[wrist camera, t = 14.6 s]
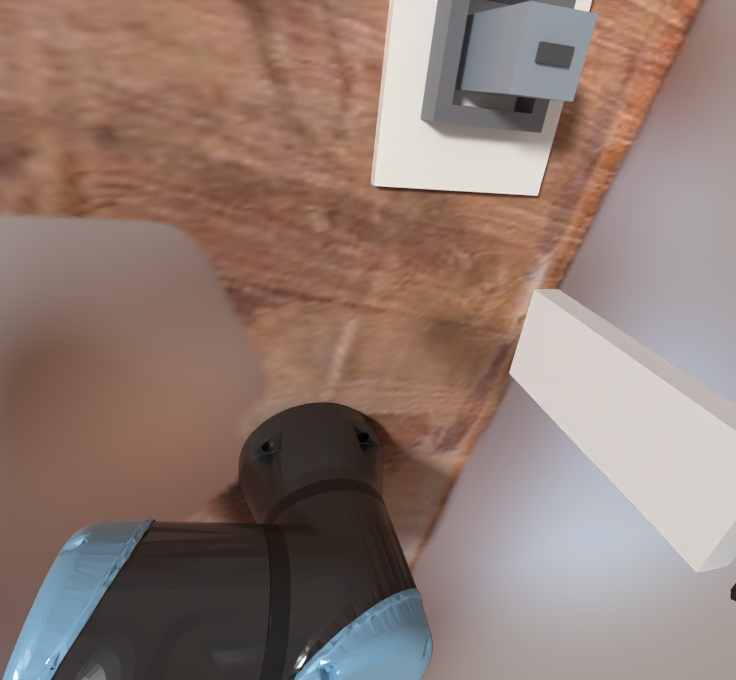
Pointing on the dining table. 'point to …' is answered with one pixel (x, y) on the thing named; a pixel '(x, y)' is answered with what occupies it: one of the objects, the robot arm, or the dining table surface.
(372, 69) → the dining table surface
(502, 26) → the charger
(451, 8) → the charging dock
